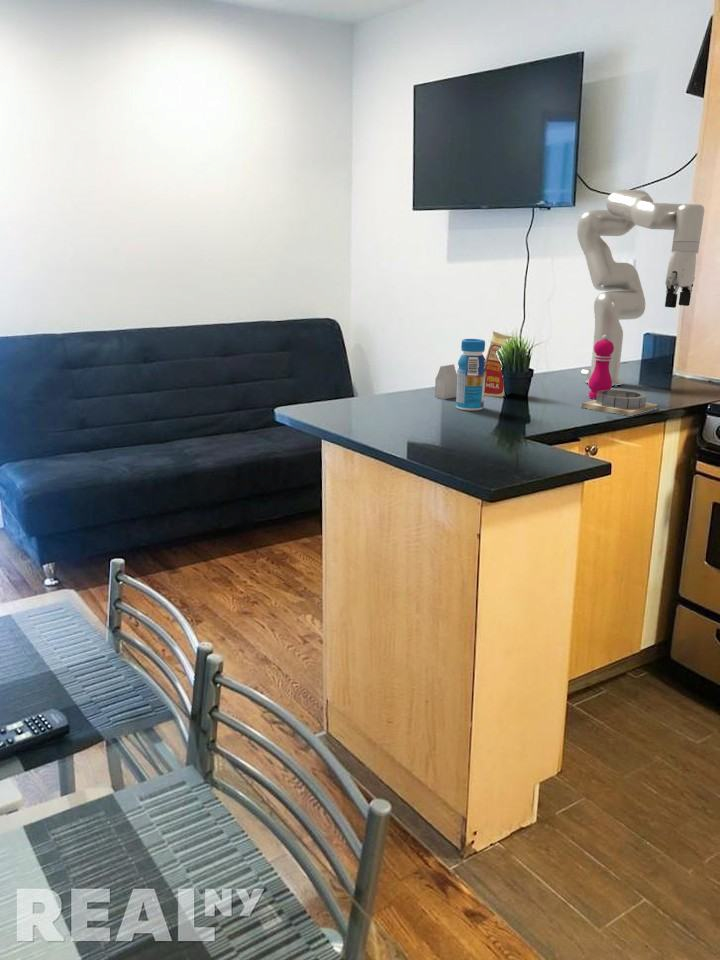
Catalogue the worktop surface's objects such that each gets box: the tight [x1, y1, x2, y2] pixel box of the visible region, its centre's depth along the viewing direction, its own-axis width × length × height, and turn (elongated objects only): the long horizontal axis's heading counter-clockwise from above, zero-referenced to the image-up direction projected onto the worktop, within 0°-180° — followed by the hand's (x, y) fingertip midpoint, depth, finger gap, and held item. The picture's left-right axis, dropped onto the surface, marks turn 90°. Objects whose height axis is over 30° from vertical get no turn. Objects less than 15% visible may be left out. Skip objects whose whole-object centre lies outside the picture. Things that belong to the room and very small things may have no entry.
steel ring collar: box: [596, 389, 647, 409], centre depth 242 cm, size 14×14×3 cm
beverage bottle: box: [455, 338, 486, 412], centre depth 237 cm, size 8×8×20 cm
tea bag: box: [434, 363, 457, 400], centre depth 255 cm, size 4×7×10 cm, turn 137°
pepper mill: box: [587, 335, 614, 400], centre depth 256 cm, size 7×7×20 cm
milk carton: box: [484, 330, 516, 398], centre depth 260 cm, size 9×9×20 cm
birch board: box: [581, 399, 659, 416], centre depth 243 cm, size 16×16×2 cm
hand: (677, 306), depth 248 cm, fingers open, 9 cm apart
